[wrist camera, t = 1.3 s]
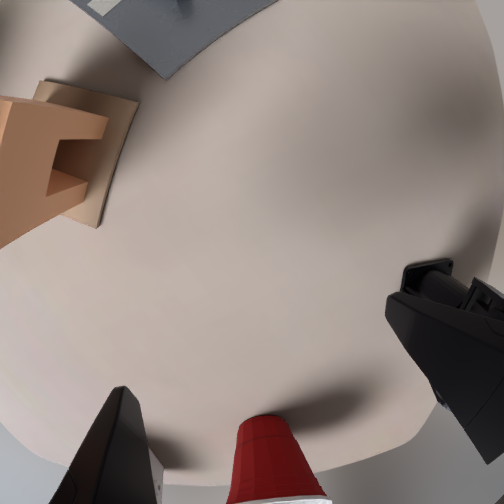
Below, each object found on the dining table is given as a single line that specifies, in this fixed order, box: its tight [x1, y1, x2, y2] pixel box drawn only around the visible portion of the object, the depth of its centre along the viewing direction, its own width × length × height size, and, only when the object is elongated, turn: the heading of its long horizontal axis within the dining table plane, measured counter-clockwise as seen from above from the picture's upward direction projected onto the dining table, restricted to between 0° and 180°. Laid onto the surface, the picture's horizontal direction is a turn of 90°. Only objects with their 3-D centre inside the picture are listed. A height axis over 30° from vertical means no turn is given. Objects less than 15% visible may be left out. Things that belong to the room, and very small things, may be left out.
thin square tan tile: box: [33, 81, 139, 229], centre depth 15 cm, size 9×9×1 cm
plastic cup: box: [226, 415, 332, 504], centre depth 22 cm, size 11×11×12 cm
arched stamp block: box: [0, 96, 109, 249], centre depth 9 cm, size 6×6×14 cm
